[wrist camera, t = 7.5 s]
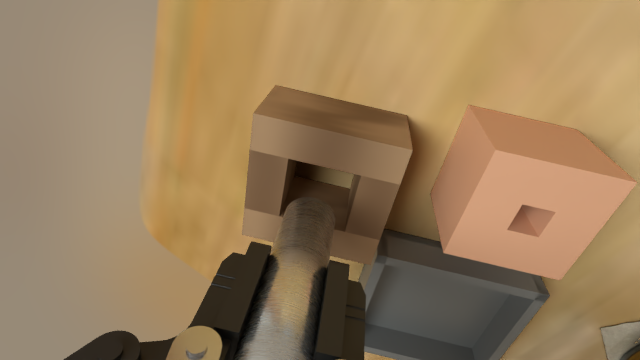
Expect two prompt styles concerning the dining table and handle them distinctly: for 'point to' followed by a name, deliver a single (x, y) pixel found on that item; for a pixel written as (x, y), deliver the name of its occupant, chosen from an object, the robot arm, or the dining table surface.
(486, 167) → the block
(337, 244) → the go block
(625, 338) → the condiment
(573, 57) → the dining table surface
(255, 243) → the robot arm
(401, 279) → the tray
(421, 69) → the dining table surface
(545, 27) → the dining table surface
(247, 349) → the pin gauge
